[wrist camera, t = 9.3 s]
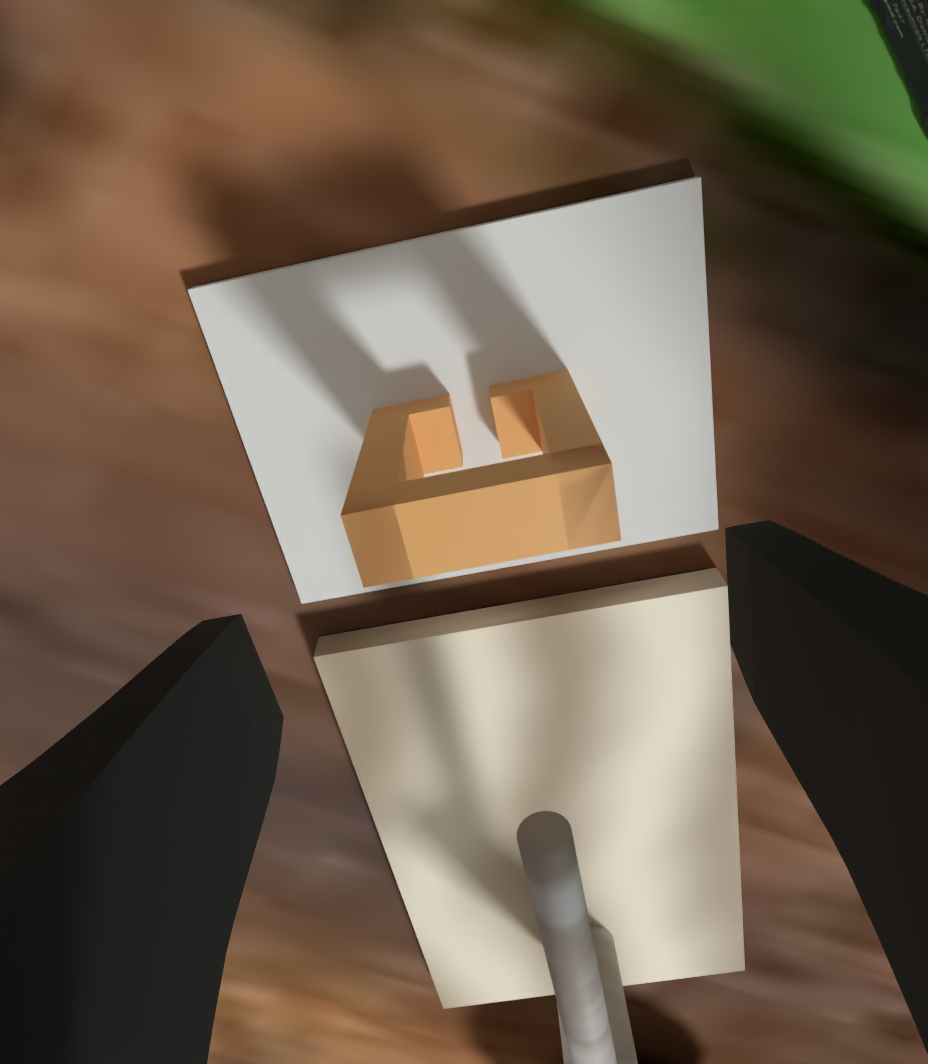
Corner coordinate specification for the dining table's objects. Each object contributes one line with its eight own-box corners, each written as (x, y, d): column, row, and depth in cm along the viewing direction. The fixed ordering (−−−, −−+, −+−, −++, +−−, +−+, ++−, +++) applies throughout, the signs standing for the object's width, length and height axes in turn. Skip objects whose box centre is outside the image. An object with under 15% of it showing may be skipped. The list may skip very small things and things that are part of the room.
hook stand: (716, 567, 22) (892, 862, 13) (736, 945, 30) (852, 1282, 21) (318, 636, 23) (231, 953, 14) (443, 984, 31) (438, 1320, 22)
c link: (567, 369, 19) (611, 463, 13) (576, 429, 19) (621, 540, 14) (372, 409, 19) (340, 515, 14) (388, 466, 20) (363, 587, 15)
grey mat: (695, 176, 17) (701, 177, 17) (714, 522, 21) (718, 529, 21) (192, 287, 18) (187, 289, 18) (304, 596, 22) (301, 603, 22)
